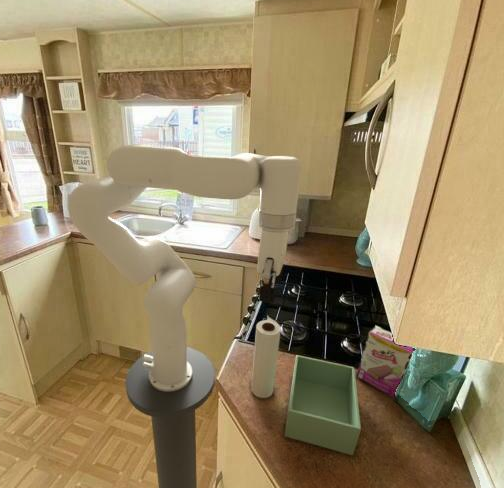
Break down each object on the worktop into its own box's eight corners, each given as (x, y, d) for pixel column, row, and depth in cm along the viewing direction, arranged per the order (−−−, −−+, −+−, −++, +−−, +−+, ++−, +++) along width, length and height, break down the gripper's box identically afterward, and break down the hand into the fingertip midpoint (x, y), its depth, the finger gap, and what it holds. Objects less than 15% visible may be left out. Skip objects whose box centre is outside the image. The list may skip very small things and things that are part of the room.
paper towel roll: (264, 402, 82) (272, 337, 73) (246, 390, 86) (251, 326, 77) (279, 386, 87) (288, 323, 78) (261, 375, 91) (267, 314, 82)
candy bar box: (355, 377, 91) (367, 331, 84) (362, 369, 94) (375, 324, 87) (395, 400, 84) (412, 352, 77) (402, 390, 87) (419, 343, 80)
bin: (284, 436, 74) (288, 410, 70) (292, 377, 90) (296, 354, 87) (352, 455, 70) (361, 429, 66) (348, 390, 87) (354, 367, 83)
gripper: (266, 207, 73) (262, 272, 81) (249, 230, 58) (245, 307, 66) (299, 210, 71) (291, 277, 78) (290, 234, 56) (281, 314, 64)
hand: (270, 291), depth 72 cm, fingers open, 9 cm apart
